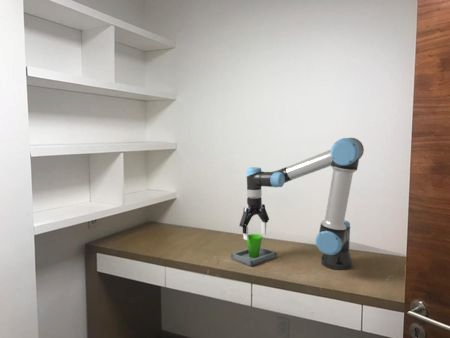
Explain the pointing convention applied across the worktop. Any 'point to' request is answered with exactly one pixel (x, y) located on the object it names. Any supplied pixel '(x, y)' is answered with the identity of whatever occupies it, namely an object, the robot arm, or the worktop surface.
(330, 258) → the robot arm
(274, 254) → the grey tray
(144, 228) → the worktop surface
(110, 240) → the worktop surface
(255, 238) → the cup
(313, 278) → the worktop surface
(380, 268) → the worktop surface
